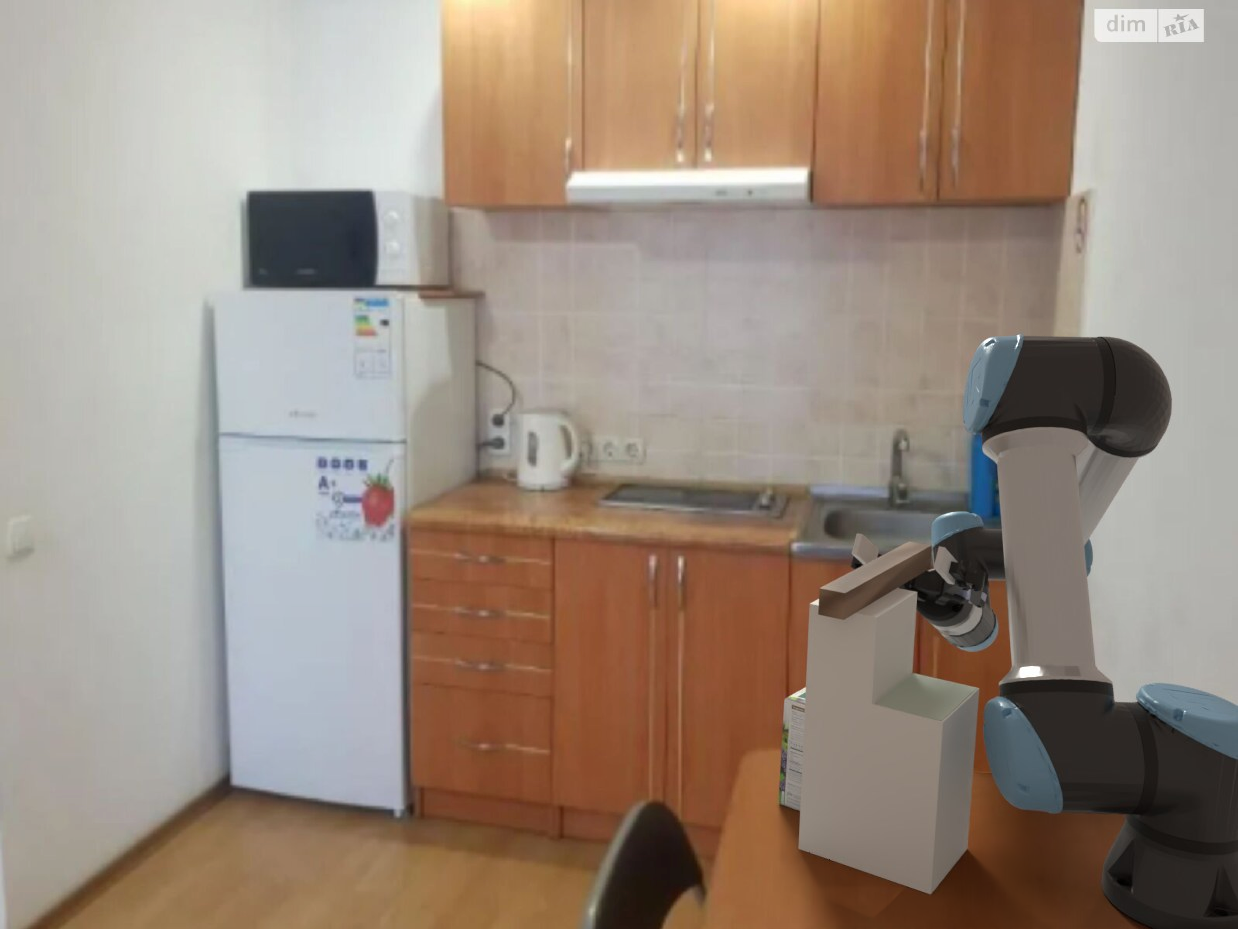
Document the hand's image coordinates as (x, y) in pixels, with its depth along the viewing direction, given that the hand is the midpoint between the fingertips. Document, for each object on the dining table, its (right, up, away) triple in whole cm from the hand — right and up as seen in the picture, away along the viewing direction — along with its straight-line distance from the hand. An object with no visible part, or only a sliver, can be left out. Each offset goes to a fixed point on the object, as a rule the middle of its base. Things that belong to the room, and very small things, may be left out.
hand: (897, 550), depth 135 cm
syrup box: (-9, -33, +7) cm, 35 cm away
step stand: (-3, -35, -4) cm, 35 cm away
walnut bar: (-3, -4, -3) cm, 6 cm away
